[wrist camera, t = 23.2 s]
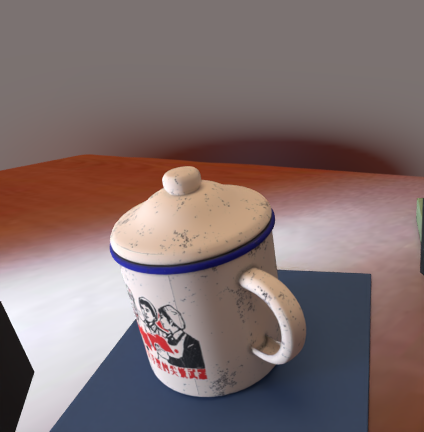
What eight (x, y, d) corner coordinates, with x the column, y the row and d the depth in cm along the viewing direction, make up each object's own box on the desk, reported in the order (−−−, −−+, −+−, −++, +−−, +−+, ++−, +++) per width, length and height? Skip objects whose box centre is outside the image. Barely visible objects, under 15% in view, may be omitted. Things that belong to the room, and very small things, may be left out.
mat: (363, 624, 13) (363, 619, 13) (4, 497, 19) (1, 493, 19) (371, 277, 30) (371, 273, 30) (177, 268, 36) (176, 265, 36)
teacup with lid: (122, 348, 27) (67, 185, 22) (227, 285, 31) (199, 139, 27) (240, 480, 18) (188, 249, 13) (364, 364, 22) (358, 162, 17)
